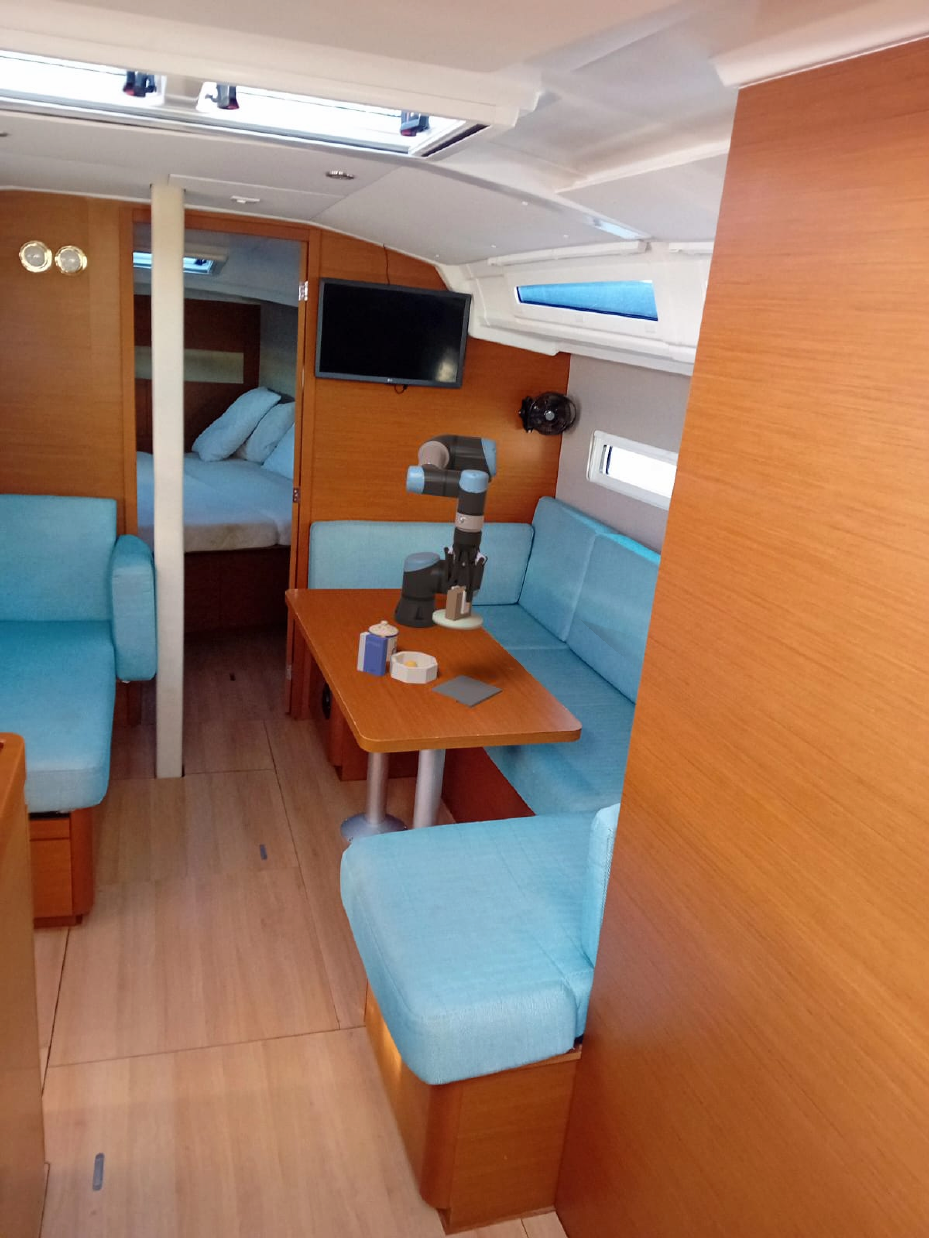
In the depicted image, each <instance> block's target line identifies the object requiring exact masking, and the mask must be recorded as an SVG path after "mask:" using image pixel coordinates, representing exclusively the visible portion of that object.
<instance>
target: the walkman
mask: <svg viewBox="0 0 929 1238" xmlns="http://www.w3.org/2000/svg"><path fill="white" fill-rule="evenodd" d="M387 648H388V638H386V637H385V636H383V635H381V636H379V635H376V634H372V633H369V632H368V631H364V632H361V633H360V634H359V646H358V655H357V656H358V657H357V667H356V669H357V671H360V672H363V673H366V674H371V675H373V676H377V677H382V676H384V675H385V674H386V668H387V667H386V665H387V661H386V658H387Z"/></svg>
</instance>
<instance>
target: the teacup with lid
mask: <svg viewBox="0 0 929 1238" xmlns="http://www.w3.org/2000/svg"><path fill="white" fill-rule="evenodd" d="M367 632H369V633H372V634H376V635H379V636H381V635H383V636H385V637H386V638H388V648H387V658H386V662H390V658H391V655H394V654H397V644H398V635H399V634H400V633H399V629H398V628H397V627H396V626H393V625H391V624H389V623H388V621H387V620H381V621H380V623H377V624H373V625H370V626H369V628H368V630H367Z"/></svg>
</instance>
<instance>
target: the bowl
mask: <svg viewBox="0 0 929 1238" xmlns="http://www.w3.org/2000/svg"><path fill="white" fill-rule="evenodd" d="M408 661H414V662H416V664H417V665H418V667H408V666H405V663H406V662H408ZM438 665H439V664H438V662H437V659H436V657H434V656H432V655H429V654H426V653H424V652H421V651H403V650H402V651H400V652H396V654H394V655H391V658H390V661H389V668H388V670H389V672H390V677H391V678H393V679H396V680H397V681H400V682H403V683H405V684H423V685H424V684H427V683H429V682H431V681H432V682H433V681H434V680H436V679H437V674H438V673H437V672H438Z"/></svg>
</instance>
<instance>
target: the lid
mask: <svg viewBox="0 0 929 1238" xmlns="http://www.w3.org/2000/svg"><path fill="white" fill-rule="evenodd" d="M465 589H466V586H462V587H459V588H455V589H451V590H448V593H447V595H446V603H445V608H443V609H437V611H435V612H434V613H433V617H432V619H433V621H434V622H435V623H437V624H436V625H438V626H442V627H444V628H448V629H452V630H463V631H464V630H465V631H466V630H475V629H478V628H481V627H482V626H483V622H484V619H483V617H482V615H481V616H480V615H479V614H477V613H475V612H472V610H473V609H472V608H473V600H474V597H472V602H470V603H469V612H467V613H464V614H461V606H462V597H463V591H464V590H465ZM473 594H474V591H473Z"/></svg>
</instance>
